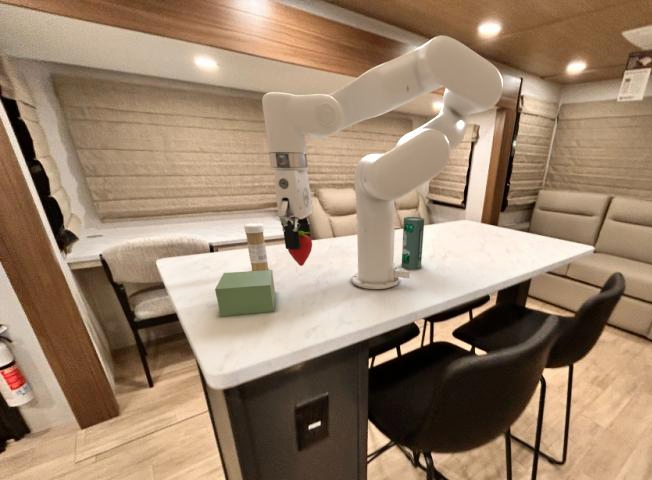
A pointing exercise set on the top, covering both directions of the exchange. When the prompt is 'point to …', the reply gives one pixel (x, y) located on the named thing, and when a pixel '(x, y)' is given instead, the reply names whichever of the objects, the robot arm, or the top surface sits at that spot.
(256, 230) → the sprinkles bottle
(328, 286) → the top surface
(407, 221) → the can
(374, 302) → the top surface
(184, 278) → the top surface
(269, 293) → the green block
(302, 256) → the strawberry
